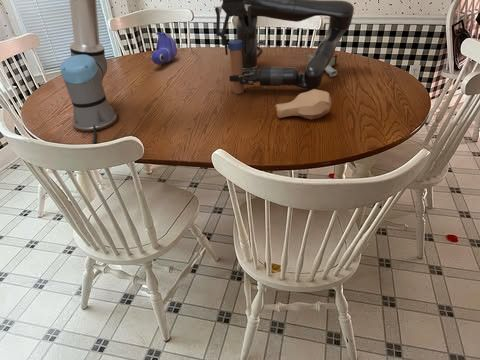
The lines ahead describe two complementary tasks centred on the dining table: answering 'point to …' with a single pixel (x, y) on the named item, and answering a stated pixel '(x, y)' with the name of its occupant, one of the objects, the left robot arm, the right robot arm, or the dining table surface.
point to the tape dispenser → (329, 65)
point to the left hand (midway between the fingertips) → (235, 53)
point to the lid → (235, 44)
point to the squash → (306, 105)
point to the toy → (164, 49)
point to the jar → (236, 70)
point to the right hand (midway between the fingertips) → (231, 76)
